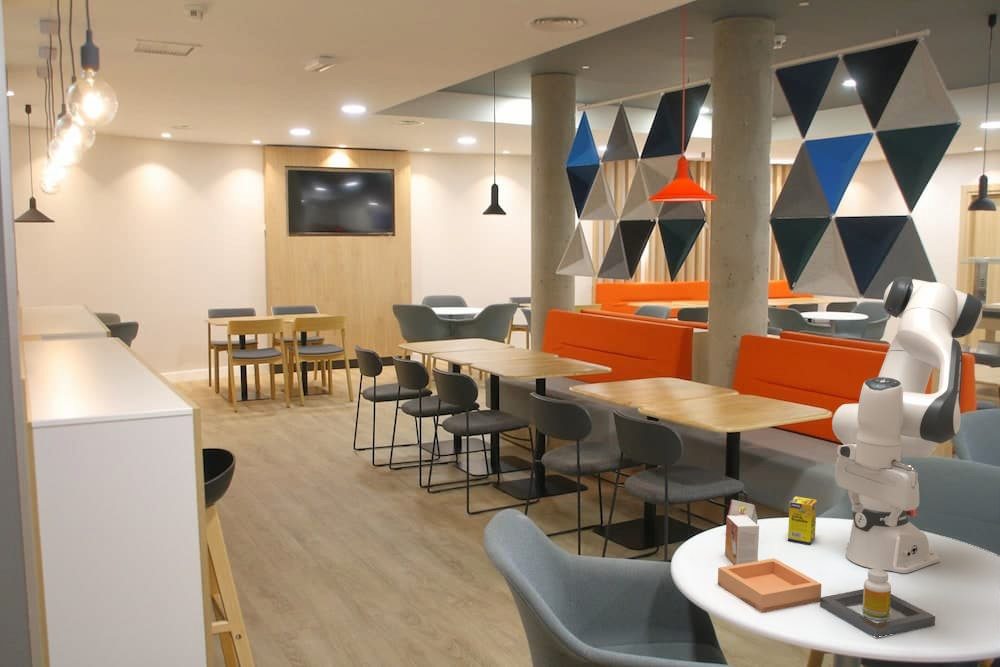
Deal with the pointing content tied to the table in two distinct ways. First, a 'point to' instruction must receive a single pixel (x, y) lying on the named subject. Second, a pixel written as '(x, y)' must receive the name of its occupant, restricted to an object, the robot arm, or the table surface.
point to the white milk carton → (743, 510)
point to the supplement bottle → (877, 595)
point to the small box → (741, 539)
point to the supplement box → (802, 520)
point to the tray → (769, 584)
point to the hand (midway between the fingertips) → (873, 518)
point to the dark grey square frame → (912, 622)
